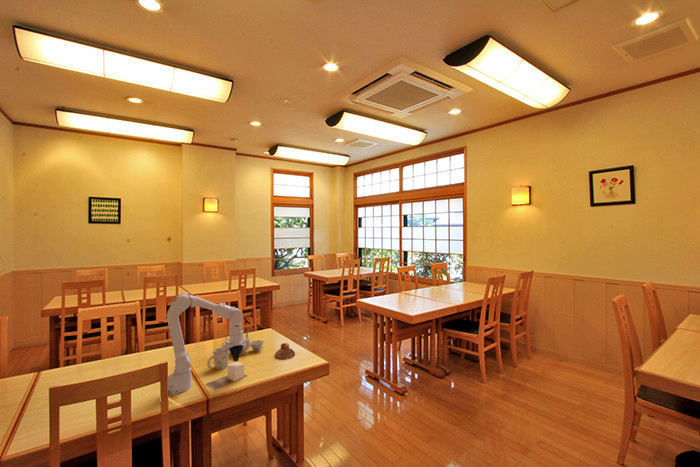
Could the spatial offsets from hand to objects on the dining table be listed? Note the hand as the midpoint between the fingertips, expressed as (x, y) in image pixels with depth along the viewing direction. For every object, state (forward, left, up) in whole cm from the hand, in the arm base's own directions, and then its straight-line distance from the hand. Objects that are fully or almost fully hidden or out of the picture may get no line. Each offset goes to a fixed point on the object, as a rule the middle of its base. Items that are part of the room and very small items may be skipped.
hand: (235, 360), depth 159 cm
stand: (-4, +1, -9) cm, 10 cm away
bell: (+37, +5, -10) cm, 39 cm away
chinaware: (+27, +33, -10) cm, 43 cm away
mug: (+2, +18, -10) cm, 21 cm away
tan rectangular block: (0, 0, -8) cm, 8 cm away
